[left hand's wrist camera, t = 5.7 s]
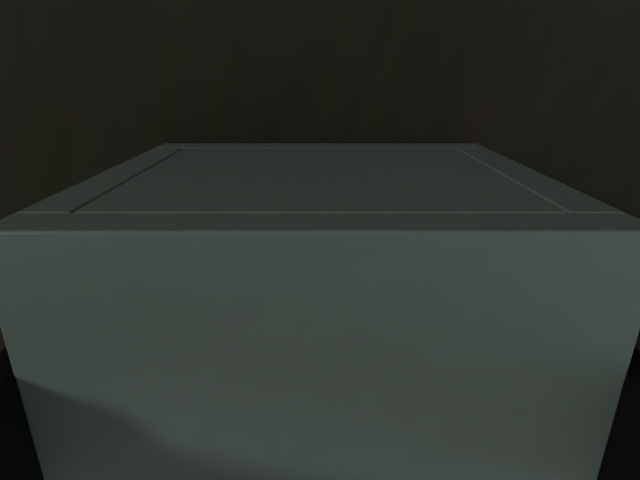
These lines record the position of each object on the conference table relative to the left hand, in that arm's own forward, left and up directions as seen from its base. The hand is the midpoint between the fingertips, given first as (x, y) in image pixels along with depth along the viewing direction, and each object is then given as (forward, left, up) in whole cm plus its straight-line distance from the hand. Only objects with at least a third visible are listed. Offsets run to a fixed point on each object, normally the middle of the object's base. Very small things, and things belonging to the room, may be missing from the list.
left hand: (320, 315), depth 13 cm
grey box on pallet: (+2, +4, -5) cm, 7 cm away
